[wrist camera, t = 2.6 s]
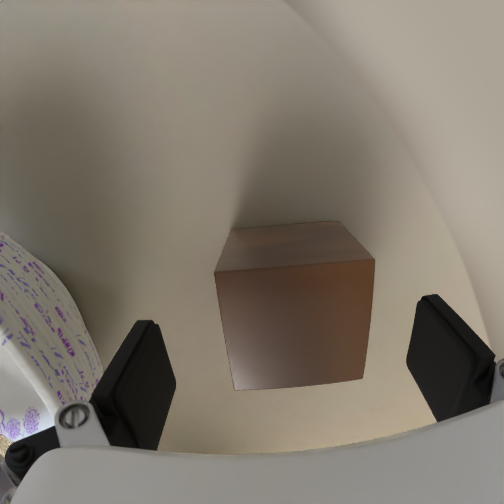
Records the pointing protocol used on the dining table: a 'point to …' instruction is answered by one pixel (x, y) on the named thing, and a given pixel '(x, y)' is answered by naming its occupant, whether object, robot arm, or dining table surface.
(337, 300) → the walnut block
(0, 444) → the dining table surface
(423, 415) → the dining table surface
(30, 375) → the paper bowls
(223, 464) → the robot arm
